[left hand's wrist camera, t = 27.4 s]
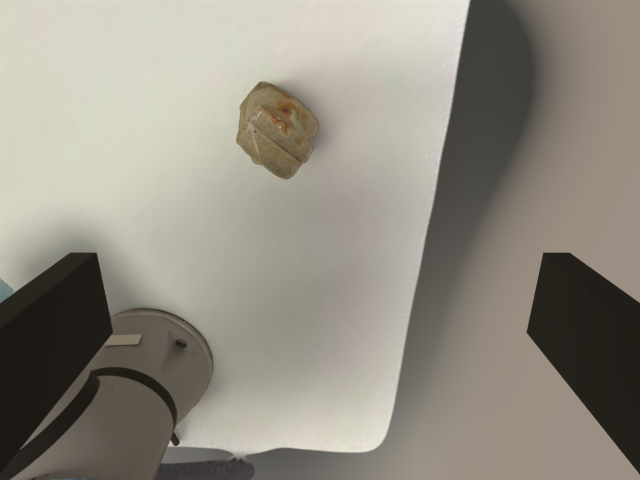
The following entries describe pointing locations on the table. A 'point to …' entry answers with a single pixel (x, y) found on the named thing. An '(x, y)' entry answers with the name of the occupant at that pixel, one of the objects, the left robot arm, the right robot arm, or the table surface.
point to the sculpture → (276, 130)
